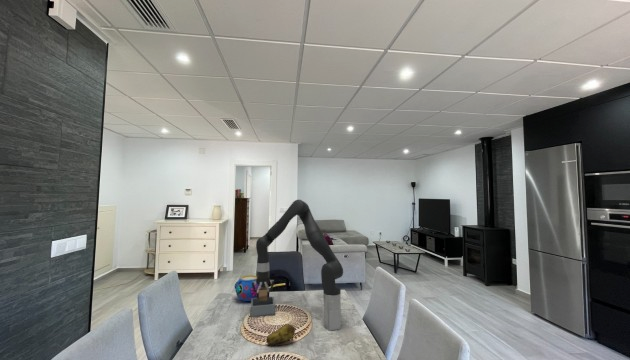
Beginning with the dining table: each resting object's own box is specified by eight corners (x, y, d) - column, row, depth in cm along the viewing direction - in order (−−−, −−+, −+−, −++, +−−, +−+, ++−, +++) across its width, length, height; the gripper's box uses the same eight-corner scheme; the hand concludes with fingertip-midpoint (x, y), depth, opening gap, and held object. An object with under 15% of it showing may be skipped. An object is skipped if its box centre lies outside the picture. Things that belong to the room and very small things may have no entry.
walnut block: (267, 300, 160) (267, 290, 160) (258, 301, 159) (258, 290, 159) (266, 297, 165) (267, 287, 165) (258, 298, 164) (258, 288, 164)
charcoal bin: (275, 315, 155) (275, 304, 156) (250, 317, 153) (250, 306, 153) (273, 306, 169) (273, 296, 170) (251, 308, 166) (251, 298, 167)
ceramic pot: (233, 298, 185) (233, 275, 186) (258, 294, 192) (258, 272, 193) (237, 306, 169) (237, 282, 170) (264, 302, 176) (264, 279, 177)
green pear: (270, 337, 130) (270, 320, 130) (296, 339, 128) (296, 322, 129) (265, 347, 122) (265, 328, 122) (292, 348, 120) (292, 330, 121)
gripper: (251, 272, 158) (250, 301, 156) (275, 270, 161) (275, 299, 159) (251, 269, 165) (251, 297, 164) (274, 267, 168) (274, 295, 167)
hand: (263, 298), depth 162 cm, fingers closed on walnut block, 5 cm apart
